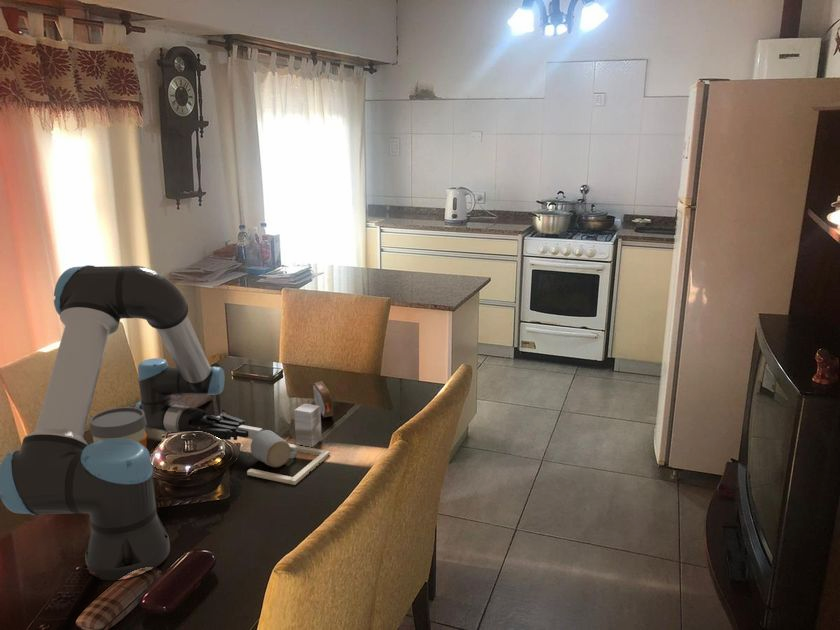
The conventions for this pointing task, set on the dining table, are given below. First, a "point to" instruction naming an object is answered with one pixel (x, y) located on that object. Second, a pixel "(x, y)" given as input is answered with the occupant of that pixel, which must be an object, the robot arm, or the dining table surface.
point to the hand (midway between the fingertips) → (261, 434)
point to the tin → (323, 399)
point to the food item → (190, 400)
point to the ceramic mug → (271, 449)
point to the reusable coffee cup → (119, 425)
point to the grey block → (307, 425)
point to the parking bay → (299, 475)
